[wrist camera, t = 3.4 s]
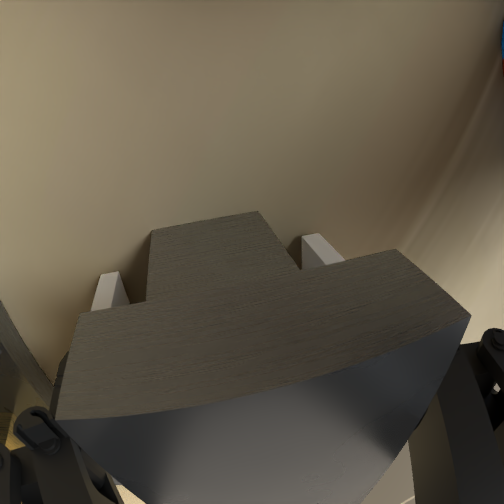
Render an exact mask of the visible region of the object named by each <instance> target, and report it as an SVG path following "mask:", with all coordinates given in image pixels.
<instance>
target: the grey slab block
mask: <svg viewBox="0 0 504 504" xmlns="http://www.w3.org/2000/svg"><path fill="white" fill-rule="evenodd" d="M470 318H471V314H470V313H469V312H467V311H466V310H465V309H464V308H463V307H462V306H461V305H460V304H459V303H458V302H457V301H456V300H454V299H453V298H452V297H451V296H450V295H449V294H448V293H447V292H446V291H444V290H443V289H442V288H441V287H440V286H439V285H438V284H437V283H435V282H434V281H433V280H432V279H431V278H430V277H428V276H427V275H426V274H425V273H424V272H423V271H421V270H420V269H419V268H418V267H417V266H416V265H414V264H413V263H412V262H411V261H410V260H408V259H407V258H406V257H405V256H404V255H402V254H401V253H400V252H399V251H397V250H396V249H393V250H389V251H385V252H380V253H376V254H372V255H368V256H363V257H359V258H355V259H350V260H346V261H341V262H337V263H333V264H328V265H324V266H319V267H315V268H310V269H305V270H300V269H299V268H298V266H297V265H296V263H295V262H294V261H293V259H292V258H291V256H290V255H289V254H288V252H287V251H286V249H285V248H284V247H283V245H282V244H281V242H280V241H279V240H278V238H277V237H276V235H275V234H274V233H273V231H272V230H271V228H270V227H269V226H268V224H267V223H266V221H265V220H264V219H263V217H262V216H261V215H260V213H259V212H258V211H255V212H249V213H243V214H238V215H232V216H226V217H221V218H215V219H209V220H204V221H199V222H193V223H188V224H183V225H177V226H172V227H167V228H162V229H157V230H152V234H151V243H150V253H149V264H148V277H147V290H146V302H140V303H135V304H129V305H124V306H118V307H112V308H107V309H101V310H95V311H89V312H83V313H80V315H79V318H78V322H77V325H76V328H75V332H74V336H73V339H72V343H71V347H70V351H69V355H68V359H67V363H66V367H65V371H64V376H63V380H62V385H61V390H60V395H59V400H58V405H57V410H56V416H55V421H56V422H57V423H58V424H59V425H60V426H61V427H62V429H63V430H64V431H65V432H66V433H67V434H68V435H69V436H70V437H71V438H72V439H73V440H74V441H75V442H76V443H77V444H78V445H79V446H80V447H81V448H82V449H83V450H84V451H85V452H86V453H87V454H88V455H89V456H90V457H91V458H92V459H93V460H94V461H95V462H97V463H98V464H99V465H100V466H101V467H102V468H103V469H104V470H105V471H106V472H108V473H109V474H110V475H111V476H112V477H113V478H115V479H116V480H117V481H118V482H119V483H121V484H122V485H123V486H124V487H125V488H127V489H128V490H129V491H130V492H132V493H133V494H134V495H136V496H137V497H138V498H139V499H141V500H142V501H143V502H145V503H146V504H360V503H361V502H362V501H363V500H364V498H365V497H366V496H367V495H368V494H369V492H370V491H371V490H372V489H373V487H374V486H375V485H376V484H377V482H378V481H379V480H380V478H381V477H382V476H383V475H384V473H385V472H386V471H387V469H388V468H389V466H390V465H391V464H392V462H393V461H394V460H395V458H396V457H397V455H398V454H399V452H400V451H401V449H402V448H403V446H404V445H405V443H406V442H407V440H408V439H409V437H410V436H411V434H412V433H413V431H414V430H415V428H416V426H417V425H418V423H419V421H420V420H421V418H422V416H423V415H424V413H425V411H426V410H427V408H428V406H429V404H430V403H431V401H432V399H433V397H434V395H435V394H436V392H437V390H438V388H439V386H440V384H441V382H442V380H443V378H444V376H445V374H446V372H447V370H448V368H449V366H450V364H451V362H452V360H453V358H454V356H455V353H456V351H457V349H458V347H459V345H460V342H461V340H462V338H463V335H464V333H465V330H466V328H467V326H468V323H469V321H470Z"/></svg>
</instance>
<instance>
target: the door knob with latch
mask: <svg viewBox="0 0 504 504" xmlns="http://www.w3.org/2000/svg"><path fill="white" fill-rule="evenodd" d="M53 389H54V387H53V385H52V384H51V383H50V381H49V380H48V378H47V377H46V376H45V374H44V373H43V371H42V370H41V368H40V367H39V365H38V364H37V362H36V361H35V359H34V358H33V356H32V355H31V353H30V352H29V350H28V348H27V347H26V345H25V344H24V342H23V340H22V339H21V337H20V335H19V334H18V332H17V330H16V328H15V327H14V325H13V323H12V321H11V320H10V318H9V316H8V314H7V312H6V310H5V309H4V307H3V305H2V303H1V301H0V443H2V444H3V445H5V446H6V447H7V448H8V449H9V450H14V449H17V448H20V447H24V446H25V445H24V444H23V443H22V442H21V441H20V440H19V439H18V438H17V437H16V436H15V435H14V434H13V425H14V423H15V421H16V418H17V417H18V416H19V415H20V414H21V412H22V411H24V410H26V409H27V408H29V407H34V406H41V407H45V408H46V409H47V410H49V408H50V403H51V398H52V394H53ZM112 479H113V481H114V483H115V485H122V484H121V483H119V482H118V481H117V480H116V479H115V478H113V477H112ZM21 504H22V502H21Z"/></svg>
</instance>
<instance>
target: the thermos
mask: <svg viewBox="0 0 504 504" xmlns="http://www.w3.org/2000/svg"><path fill="white" fill-rule="evenodd" d="M501 45H502V60H503V74H504V23H503V33H502V42H501Z"/></svg>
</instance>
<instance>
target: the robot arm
mask: <svg viewBox="0 0 504 504" xmlns="http://www.w3.org/2000/svg"><path fill="white" fill-rule="evenodd" d="M301 239H302V270H305V269H310V268H315V267H319V266H324V265H328V264H333V263H337V262H341V261H346V260H345V259H344V258H343V257H342V256H341V255H340V254H339V253H338V252H337V251H336V250H335V249H334V248H333V247H332V246H331V245H330V244H329V243H328V242H327V241H326V240H325V239H324V238H323V237H322V236H321V235H320V234H319V233H315V234H310V235H305V236H301ZM129 304H130V303H129V300H128V297H127V294H126V291H125V289H124V286H123V283H122V280H121V277H120V274H119V271H117V272H112V273H107V274H102V275H101V276H100V279H99V283H98V286H97V289H96V293H95V296H94V300H93V303H92V307H91V311H95V310H101V309H107V308H112V307H118V306H124V305H129ZM68 355H69V352H67V353H66V355H65V356H64V358H63V359H62V361H61V362H60V364H59V368H58V372H57V378H56V380H55V385H54V386H55V388H54V389H53V394H52V398H51V403H50V408H49V410H47V409H46V408H45V407H41V406H34V407H29V408H27V409H26V410H24V411H22V412H21V414H20V415H19V416H18V417H17V418H16V421H15V423H14V425H13V434H14V435H15V436H16V437H17V438H18V439H19V440H20V441H21V442H22V443H23V444H24V445H25V446H24V447H20V448H17V449H14V450H9V449H8V448H7V447H6V446H5V445H3V444H2V443H0V504H21V502H22V504H124V502H123V500H122V498H121V496H120V494H119V492H118V490H117V487H116V485H115V483H114V481H113V479H112V476H111V475H110V474H109V473H108V472H106V471H105V470H104V469H103V468H102V467H101V466H100V465H99V464H98V463H97V462H95V461H94V460H93V459H92V458H91V457H90V456H89V455H88V454H87V453H86V452H85V451H84V450H83V449H82V448H81V447H80V446H79V445H78V444H77V443H76V442H75V441H74V440H73V439H72V438H71V437H70V436H69V435H68V434H67V433H66V432H65V431H64V430H63V429H62V427H61V426H60V425H59V424H58V423H57V422H56V421H55V416H56V410H57V405H58V400H59V395H60V390H61V385H62V380H63V376H64V371H65V367H66V363H67V359H68ZM496 383H497V384H498V386H499V387H500V391H499V392H497V391H495V390H494V386H495V385H496ZM408 443H409V450H410V457H411V465H412V473H413V481H414V491H415V502H416V504H504V330H502V329H497V328H492V329H488V330H487V331H485V332H484V334H483V336H482V338H481V341H480V342H475V343H468V344H460V345H459V347H458V349H457V351H456V353H455V356H454V358H453V360H452V362H451V364H450V366H449V368H448V370H447V372H446V374H445V376H444V378H443V380H442V382H441V384H440V386H439V388H438V390H437V392H436V394H435V395H434V397H433V399H432V401H431V403H430V404H429V406H428V408H427V410H426V411H425V413H424V415H423V416H422V418H421V420H420V421H419V423H418V425H417V426H416V428H415V430H414V431H413V433H412V434H411V436H410V437H409V439H408Z"/></svg>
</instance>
